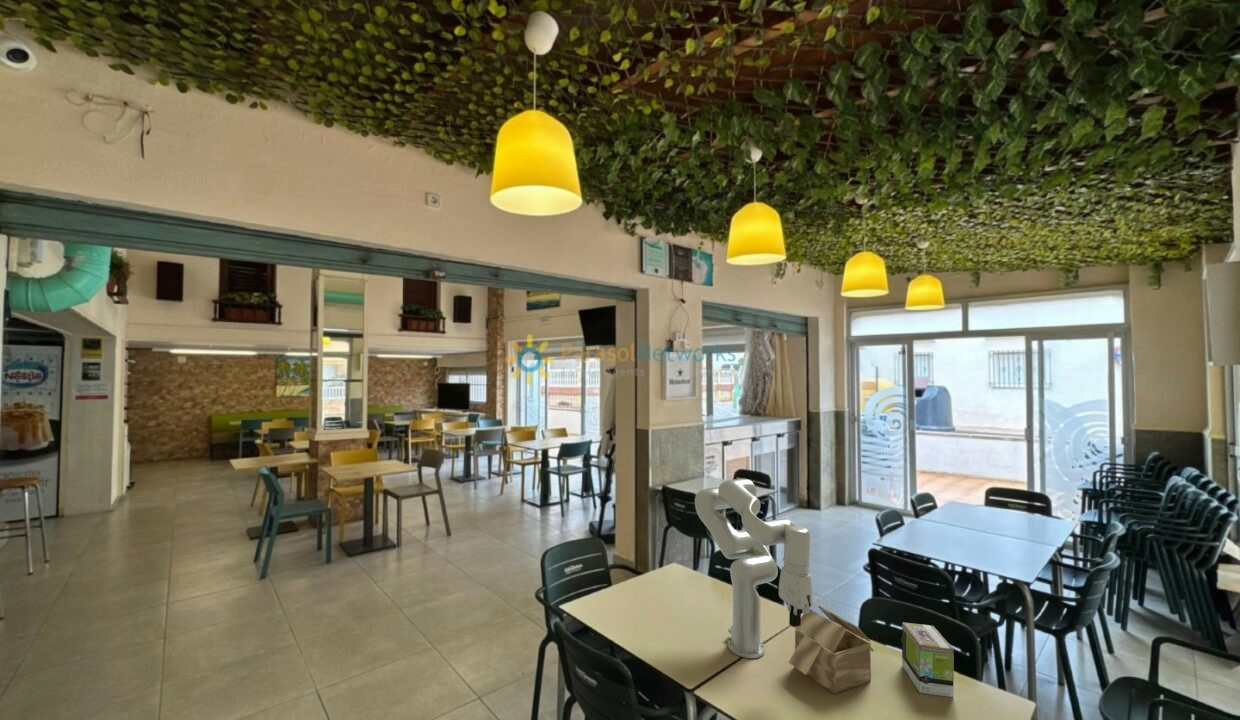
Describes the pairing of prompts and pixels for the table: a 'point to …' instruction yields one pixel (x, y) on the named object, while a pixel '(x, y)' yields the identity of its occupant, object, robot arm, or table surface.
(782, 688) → the table surface
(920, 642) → the tea box
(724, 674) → the table surface
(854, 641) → the carton
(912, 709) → the table surface
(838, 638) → the near flap
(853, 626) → the far flap
